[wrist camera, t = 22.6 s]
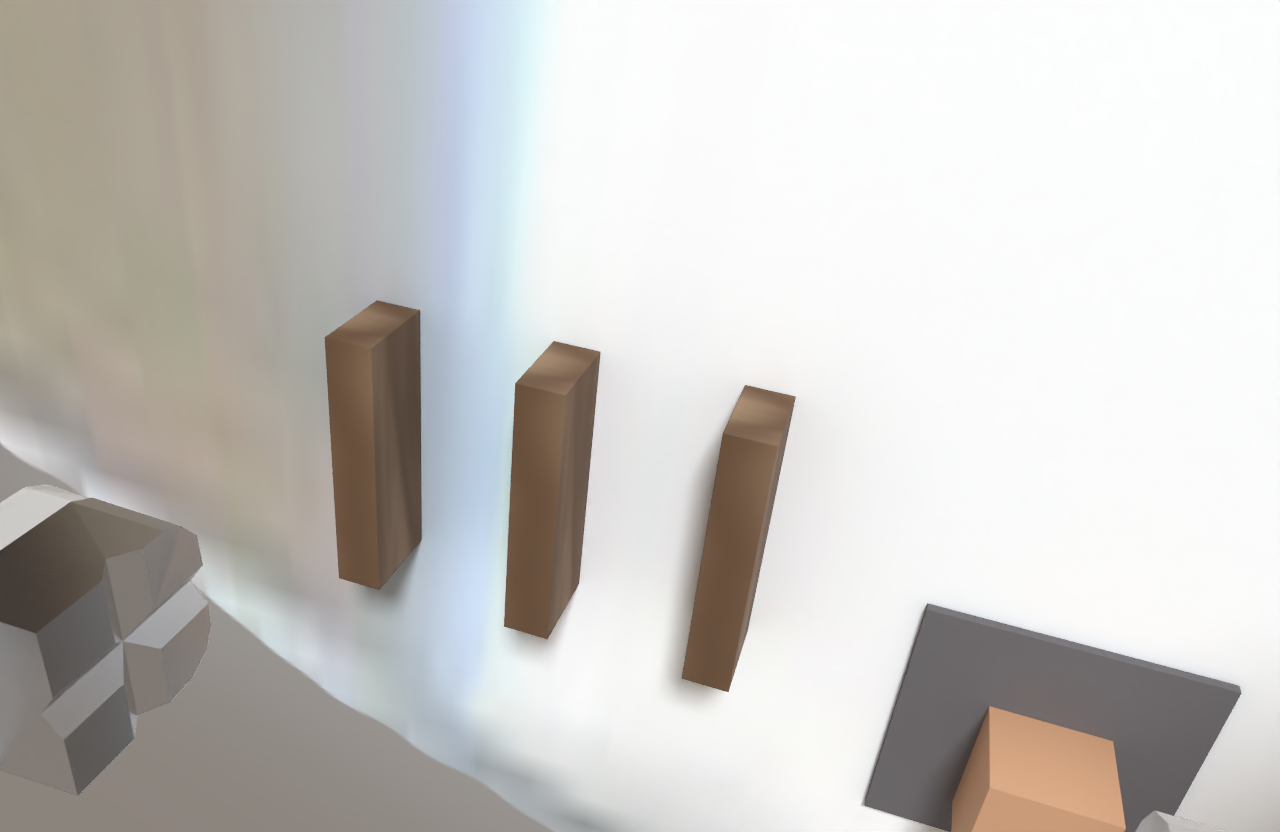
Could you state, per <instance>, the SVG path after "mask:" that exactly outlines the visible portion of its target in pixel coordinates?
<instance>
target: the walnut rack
mask: <svg viewBox="0 0 1280 832" xmlns="http://www.w3.org/2000/svg"><path fill="white" fill-rule="evenodd" d="M325 349H326V366H327V383H328V400H329V417H330V434H331V450H332V467H333V484H334V501H335V518H336V535H337V552H338V568H339V578H341V579H344V580H347V581H351V582H354V583H358V584H361V585H365V586H368V587H371V588H375V589H378V590H380V588H381V587H382V586H383V585H384V584H385V582H386V581H387V580H388V579H389V578H390V576H391V575H392V574H393V573H394V572H395V570H396V569H397V568H398V567H399V566H400V565H401V563H402V562H403V561H404V560H405V559H406V557H407V556H408V555H409V554H410V553H411V551H412V550H413V549H414V548H415V547H416V545H417V544H418V543H419V542H420V541H421V408H420V310H416V309H411V308H407V307H402V306H398V305H394V304H389V303H385V302H381V301H376V302H374V303H373V304H371V305H370V306H369V307H367V308H366V309H364V310H363V311H361V312H360V313H359V314H357V315H356V316H354V317H353V318H352V319H350V320H349V321H347V322H346V323H345V324H343V325H342V326H340V327H339V328H338V329H336V330H335V331H333V332H332V333H330V334H329V335H328V336H326V337H325ZM599 361H600V352H598V351H594V350H590V349H585V348H581V347H577V346H572V345H568V344H564V343H559V342H555V341H554V342H553V343H552V344H551V345H550V346H549V347H548V348H547V349H546V350H545V352H544V353H543V354H542V355H541V356H540V357H539V358H538V359H537V360H536V361H535V363H534V364H533V365H532V366H531V367H530V368H529V369H528V370H527V371H526V372H525V373H524V375H523V376H522V377H521V378H520V379H519V380H518V381H517V382H516V383H515V404H514V425H513V447H512V468H511V490H510V512H509V533H508V555H507V576H506V598H505V619H504V627H508V628H511V629H515V630H518V631H522V632H525V633H528V634H532V635H535V636H539V637H542V638H545V639H548V637H549V635H550V634H551V632H552V630H553V628H554V626H555V625H556V623H557V621H558V619H559V618H560V616H561V614H562V612H563V611H564V609H565V607H566V605H567V604H568V602H569V600H570V598H571V597H572V595H573V593H574V591H575V590H576V588H577V586H578V584H579V577H580V566H581V555H582V544H583V534H584V523H585V512H586V501H587V490H588V480H589V469H590V458H591V447H592V436H593V426H594V415H595V404H596V393H597V382H598V372H599ZM794 402H795V397H794V396H790V395H786V394H781V393H777V392H773V391H768V390H764V389H760V388H755V387H751V386H747V385H745V387H744V389H743V391H742V393H741V396H740V398H739V400H738V402H737V404H736V406H735V408H734V411H733V413H732V415H731V417H730V419H729V421H728V424H727V426H726V428H725V430H724V432H723V436H722V442H721V448H720V454H719V460H718V466H717V472H716V478H715V484H714V490H713V496H712V502H711V508H710V514H709V520H708V525H707V531H706V537H705V543H704V549H703V555H702V561H701V567H700V573H699V579H698V585H697V591H696V597H695V603H694V609H693V615H692V621H691V627H690V633H689V639H688V645H687V651H686V656H685V662H684V668H683V674H682V679H685V680H689V681H692V682H696V683H699V684H702V685H706V686H709V687H713V688H716V689H719V690H723V691H726V692H729V688H730V685H731V682H732V679H733V676H734V672H735V669H736V666H737V663H738V660H739V656H740V653H741V650H742V647H743V643H744V640H745V637H746V634H747V631H748V626H749V621H750V616H751V611H752V606H753V601H754V597H755V592H756V587H757V582H758V577H759V572H760V567H761V563H762V558H763V553H764V548H765V543H766V538H767V533H768V529H769V524H770V519H771V514H772V509H773V504H774V499H775V495H776V490H777V485H778V480H779V475H780V470H781V465H782V460H783V456H784V451H785V446H786V441H787V436H788V431H789V426H790V422H791V417H792V412H793V407H794Z"/></svg>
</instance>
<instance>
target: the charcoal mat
mask: <svg viewBox="0 0 1280 832" xmlns="http://www.w3.org/2000/svg"><path fill="white" fill-rule="evenodd" d="M1240 695H1241V690H1240V687H1239V686H1237V685H1234V684H1230V683H1226V682H1222V681H1219V680H1215V679H1211V678H1207V677H1203V676H1200V675H1196V674H1192V673H1188V672H1184V671H1181V670H1177V669H1173V668H1169V667H1166V666H1162V665H1158V664H1154V663H1150V662H1147V661H1143V660H1139V659H1135V658H1131V657H1128V656H1124V655H1120V654H1116V653H1113V652H1109V651H1105V650H1101V649H1097V648H1094V647H1090V646H1086V645H1082V644H1078V643H1075V642H1071V641H1067V640H1063V639H1060V638H1056V637H1052V636H1048V635H1044V634H1041V633H1037V632H1033V631H1029V630H1025V629H1022V628H1018V627H1014V626H1010V625H1007V624H1003V623H999V622H995V621H991V620H988V619H984V618H980V617H976V616H972V615H969V614H965V613H961V612H957V611H954V610H950V609H946V608H942V607H938V606H935V605H931V604H927V608H926V611H925V614H924V617H923V620H922V623H921V626H920V630H919V633H918V636H917V639H916V642H915V645H914V649H913V652H912V655H911V658H910V661H909V664H908V667H907V671H906V674H905V677H904V680H903V683H902V686H901V689H900V693H899V696H898V699H897V702H896V705H895V708H894V711H893V715H892V718H891V721H890V724H889V727H888V730H887V733H886V737H885V740H884V743H883V746H882V749H881V752H880V755H879V759H878V762H877V765H876V768H875V771H874V774H873V777H872V781H871V784H870V787H869V790H868V793H867V796H866V800H865V806H868V807H871V808H874V809H878V810H881V811H884V812H887V813H891V814H894V815H897V816H900V817H904V818H907V819H910V820H913V821H917V822H920V823H923V824H926V825H930V826H933V827H936V828H939V829H943V830H946V831H949V832H951V829H952V801H953V799H954V796H955V793H956V791H957V788H958V786H959V783H960V781H961V778H962V775H963V773H964V770H965V768H966V765H967V763H968V760H969V757H970V755H971V752H972V750H973V747H974V745H975V742H976V739H977V737H978V734H979V732H980V729H981V727H982V724H983V721H984V719H985V716H986V714H987V711H988V709H989V706H990V707H994V708H998V709H1001V710H1005V711H1008V712H1012V713H1015V714H1019V715H1022V716H1026V717H1029V718H1033V719H1036V720H1040V721H1043V722H1047V723H1050V724H1054V725H1057V726H1061V727H1064V728H1068V729H1072V730H1075V731H1079V732H1082V733H1086V734H1089V735H1093V736H1096V737H1100V738H1103V739H1107V740H1110V741H1113V744H1114V751H1115V758H1116V764H1117V771H1118V778H1119V785H1120V792H1121V798H1122V805H1123V812H1124V819H1125V826H1126V829H1125V831H1124V832H1136V830H1137V828H1138V826H1139V825H1140V823H1141V821H1142V820H1143V819H1144V818H1146V817H1147V816H1148V815H1149V814H1151V813H1152V812H1153V811H1154V810H1155V811H1158V812H1162V813H1165V814H1169V815H1172V816H1174V815H1175V813H1176V811H1177V809H1178V807H1179V805H1180V804H1181V802H1182V800H1183V798H1184V796H1185V795H1186V793H1187V791H1188V789H1189V787H1190V786H1191V784H1192V782H1193V780H1194V778H1195V776H1196V775H1197V773H1198V771H1199V769H1200V767H1201V766H1202V764H1203V762H1204V760H1205V758H1206V756H1207V755H1208V753H1209V751H1210V749H1211V747H1212V746H1213V744H1214V742H1215V740H1216V738H1217V737H1218V735H1219V733H1220V731H1221V729H1222V727H1223V726H1224V724H1225V722H1226V720H1227V718H1228V717H1229V715H1230V713H1231V711H1232V709H1233V707H1234V706H1235V704H1236V702H1237V700H1238V698H1239V697H1240Z"/></svg>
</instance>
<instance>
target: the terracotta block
mask: <svg viewBox="0 0 1280 832" xmlns="http://www.w3.org/2000/svg"><path fill="white" fill-rule="evenodd" d="M1125 829H1126V826H1125V819H1124V812H1123V805H1122V798H1121V792H1120V785H1119V778H1118V771H1117V764H1116V758H1115V751H1114V744H1113V741H1110V740H1107V739H1103V738H1100V737H1096V736H1093V735H1089V734H1086V733H1082V732H1079V731H1075V730H1072V729H1068V728H1064V727H1061V726H1057V725H1054V724H1050V723H1047V722H1043V721H1040V720H1036V719H1033V718H1029V717H1026V716H1022V715H1019V714H1015V713H1012V712H1008V711H1005V710H1001V709H998V708H994V707H990V706H989V709H988V711H987V714H986V716H985V719H984V721H983V724H982V727H981V729H980V732H979V734H978V737H977V739H976V742H975V745H974V747H973V750H972V752H971V755H970V757H969V760H968V763H967V765H966V768H965V770H964V773H963V775H962V778H961V781H960V783H959V786H958V788H957V791H956V793H955V796H954V799H953V801H952V829H951V832H1124V831H1125Z"/></svg>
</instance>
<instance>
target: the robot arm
mask: <svg viewBox="0 0 1280 832" xmlns="http://www.w3.org/2000/svg"><path fill="white" fill-rule="evenodd" d="M202 566H203V563H202V558H201V553H200V548H199V543H198V538H197V535H195V534H194V533H192V532H190V531H189V530H187V529H185V528H183V527H182V526H178V525H175V524H172V523H169V522H166V521H163V520H160V519H157V518H154V517H151V516H147V515H144V514H141V513H138V512H135V511H132V510H129V509H126V508H123V507H120V506H116V505H113V504H110V503H107V502H104V501H101V500H98V499H95V498H88V497H85V496H82V495H78V494H75V493H72V492H69V491H66V490H63V489H60V488H57V487H54V486H51V485H48V484H45V485H38V486H31V487H25V488H23V489H21V490H20V491H18V492H17V493H15V494H14V495H12V496H10V497H9V498H7V499H6V500H4V501H3V502H1V503H0V771H3V772H6V773H9V774H12V775H16V776H19V777H22V778H25V779H28V780H31V781H34V782H37V783H40V784H43V785H46V786H50V787H52V788H55V789H58V790H62V791H64V792H68V793H71V794H74V795H77V796H78V795H79V794H80V793H81V792H82V791H83V790H84V789H85V788H86V787H87V786H88V785H89V784H90V783H91V782H92V781H93V780H94V779H95V778H96V777H97V776H98V775H99V774H100V773H101V772H102V771H103V770H104V769H105V768H106V767H107V766H108V765H109V764H110V763H111V762H112V761H113V760H114V759H115V757H117V756H118V754H119V753H121V752H122V750H123V749H124V748H125V747H126V746H127V745H128V744H129V743H130V742H131V741H132V740H133V739H134V737H135V729H136V721H137V715H139V714H141V713H144V712H147V711H149V710H152V709H154V708H157V707H159V706H162V705H164V704H167V703H169V702H170V701H171V700H172V699H173V698H174V697H175V696H176V695H177V694H178V693H179V692H180V691H181V690H182V689H183V688H184V687H185V685H186V684H187V683H188V682H189V681H190V680H191V679H192V677H193V675H194V673H195V671H196V670H197V668H198V666H199V664H200V661H201V660H202V658H203V656H204V654H205V652H206V650H207V646H208V640H209V634H210V627H211V622H210V614H209V605H208V602H207V601H206V600H205V598H204V597H203V595H202V594H201V593H200V591H199V590H198V589H197V587H196V586H195V584H194V583H193V582H192V580H191V579H192V578H193V577H194V575H195V574H196V573H197V572H198V570H199V569H200V568H201V567H202ZM1136 832H1229V831H1225V830H1222V829H1218V828H1215V827H1211V826H1208V825H1204V824H1201V823H1197V822H1194V821H1190V820H1186V819H1183V818H1179V817H1176V816H1172V815H1169V814H1165V813H1162V812H1158V811H1155V810H1154V811H1153V812H1152V813H1151V814H1149V815H1148V816H1147V817H1146V818H1144V819H1143V820H1142V821H1141V823H1140V825H1139V826H1138V828H1137V830H1136Z"/></svg>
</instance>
